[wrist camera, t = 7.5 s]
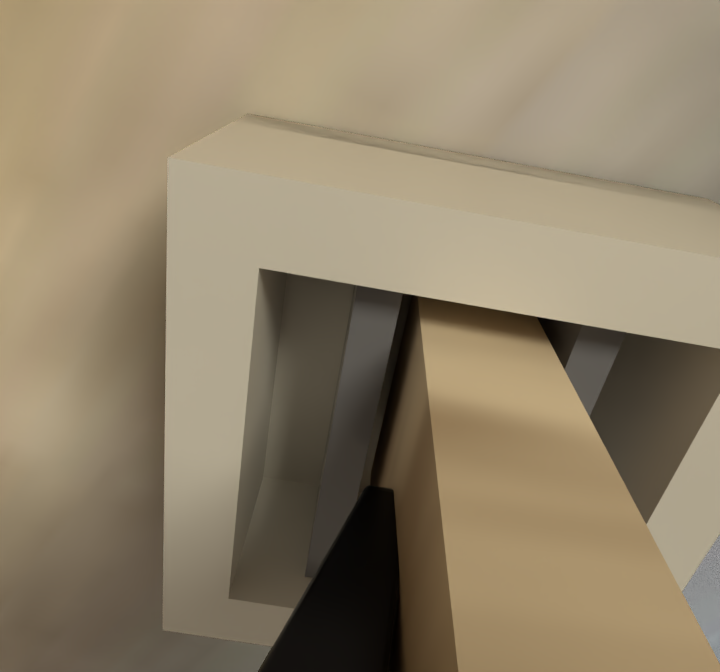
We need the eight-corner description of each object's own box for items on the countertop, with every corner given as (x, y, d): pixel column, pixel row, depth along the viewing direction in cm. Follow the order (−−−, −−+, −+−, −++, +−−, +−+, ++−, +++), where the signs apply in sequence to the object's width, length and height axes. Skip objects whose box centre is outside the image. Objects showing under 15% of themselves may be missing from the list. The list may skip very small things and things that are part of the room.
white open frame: (556, 529, 14) (613, 697, 10) (221, 475, 14) (162, 630, 10) (708, 198, 10) (880, 286, 7) (247, 113, 10) (166, 157, 6)
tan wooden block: (463, 487, 11) (561, 1080, 5) (371, 472, 11) (346, 1055, 5) (527, 299, 9) (826, 867, 3) (415, 279, 9) (475, 820, 3)
